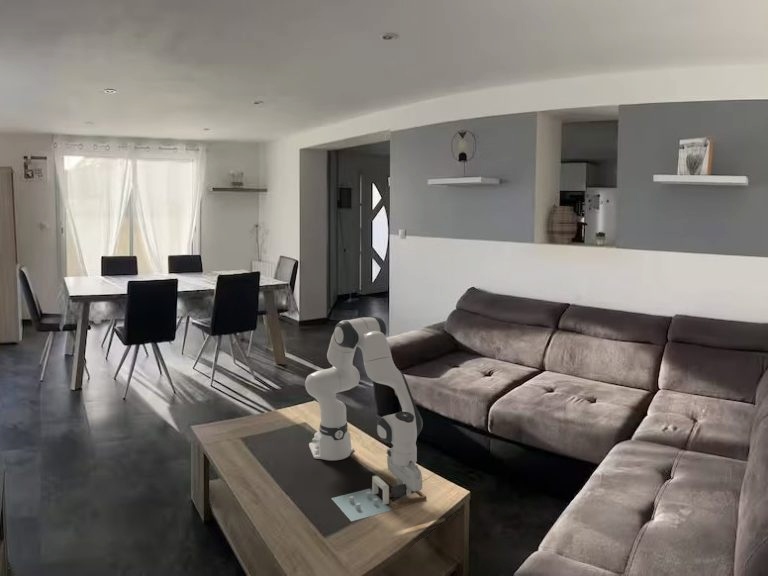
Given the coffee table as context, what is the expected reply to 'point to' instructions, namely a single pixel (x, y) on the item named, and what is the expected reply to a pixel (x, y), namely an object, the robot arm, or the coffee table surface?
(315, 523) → the coffee table surface
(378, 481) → the u-shaped staple bracket
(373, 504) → the clip board
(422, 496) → the tray
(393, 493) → the dark grey rounded bar
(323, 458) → the robot arm
